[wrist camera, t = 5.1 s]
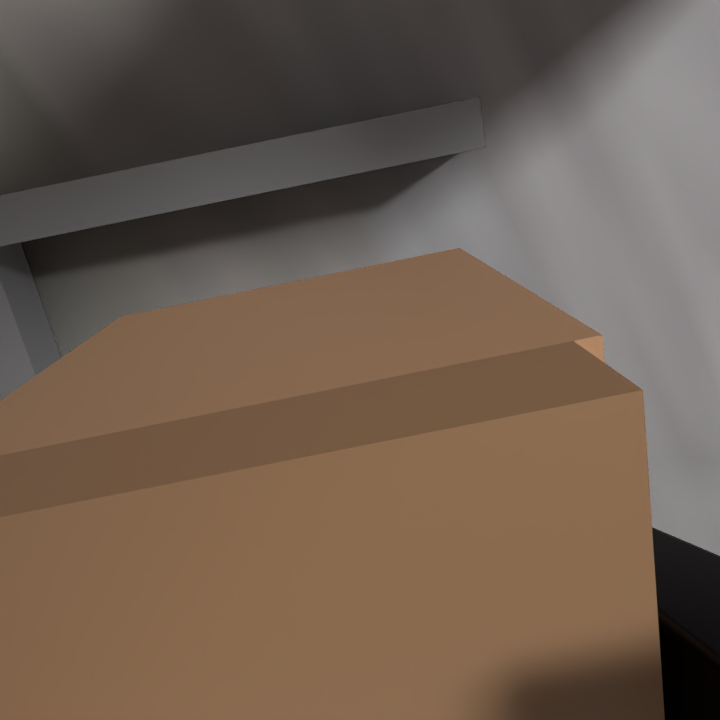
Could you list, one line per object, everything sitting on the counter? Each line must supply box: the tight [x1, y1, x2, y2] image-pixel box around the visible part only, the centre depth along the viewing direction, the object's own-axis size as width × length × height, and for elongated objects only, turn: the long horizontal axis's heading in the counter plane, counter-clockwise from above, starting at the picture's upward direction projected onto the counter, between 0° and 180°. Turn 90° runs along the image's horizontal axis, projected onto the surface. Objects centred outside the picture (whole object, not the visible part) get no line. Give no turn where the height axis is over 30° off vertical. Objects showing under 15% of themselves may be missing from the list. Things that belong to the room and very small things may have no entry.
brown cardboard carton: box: [0, 248, 665, 720], centre depth 7 cm, size 5×8×6 cm, turn 11°
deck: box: [0, 97, 486, 399], centre depth 17 cm, size 13×21×3 cm, turn 11°
